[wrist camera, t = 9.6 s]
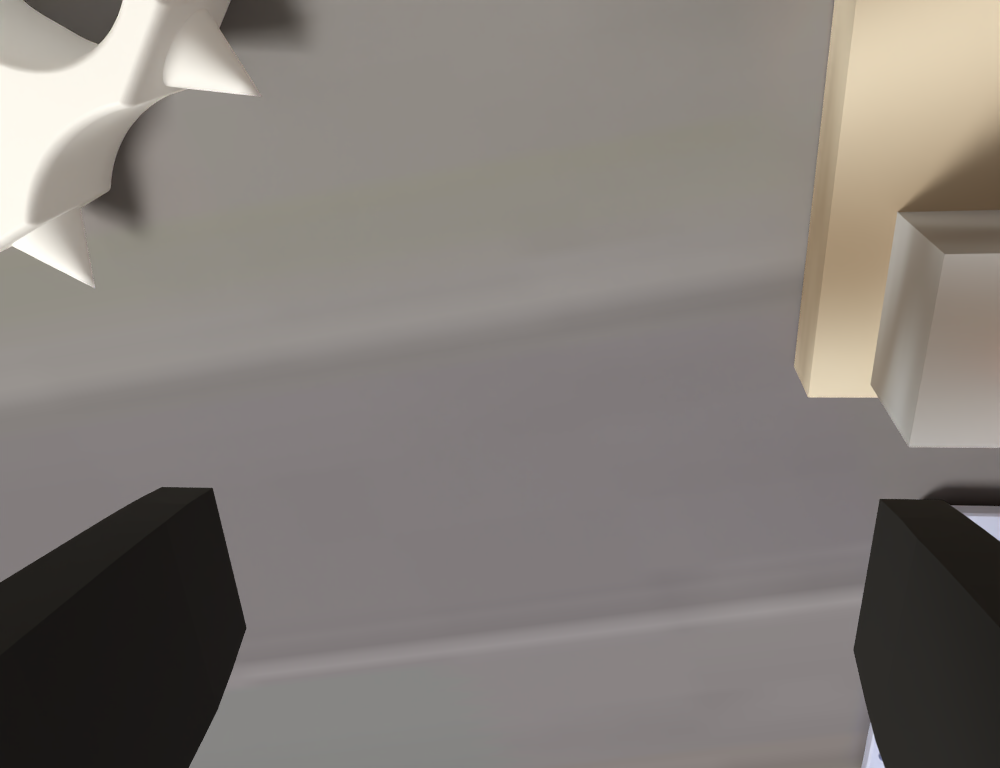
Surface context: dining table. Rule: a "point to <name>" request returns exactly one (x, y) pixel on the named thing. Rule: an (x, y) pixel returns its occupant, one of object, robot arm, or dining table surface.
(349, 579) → the dining table surface
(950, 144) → the display stand
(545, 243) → the dining table surface
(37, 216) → the white flat perforated piece
